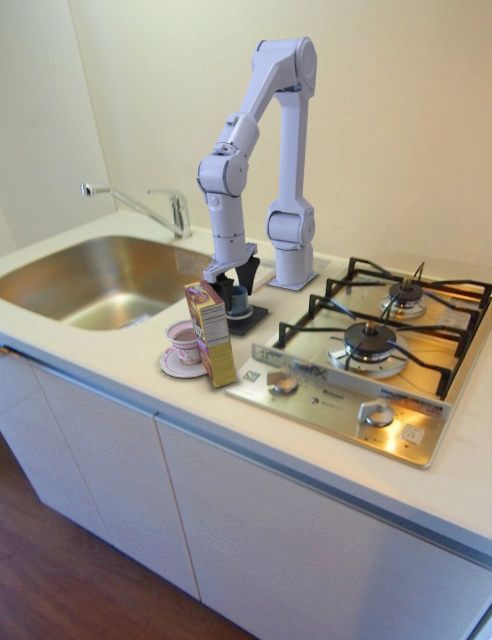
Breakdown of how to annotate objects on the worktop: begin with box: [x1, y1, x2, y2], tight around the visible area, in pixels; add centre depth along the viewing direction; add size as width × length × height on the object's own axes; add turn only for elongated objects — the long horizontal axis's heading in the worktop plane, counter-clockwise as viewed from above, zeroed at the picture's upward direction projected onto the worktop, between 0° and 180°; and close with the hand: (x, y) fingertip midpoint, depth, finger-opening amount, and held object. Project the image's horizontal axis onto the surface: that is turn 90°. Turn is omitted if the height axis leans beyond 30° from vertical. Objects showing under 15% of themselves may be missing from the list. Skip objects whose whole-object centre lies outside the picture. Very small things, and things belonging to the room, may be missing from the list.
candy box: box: [183, 279, 238, 389], centre depth 70 cm, size 9×4×15 cm, turn 23°
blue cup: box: [227, 284, 250, 314], centre depth 83 cm, size 5×5×4 cm
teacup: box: [159, 318, 208, 379], centre depth 77 cm, size 12×12×6 cm
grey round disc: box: [226, 303, 253, 320], centre depth 85 cm, size 6×6×1 cm
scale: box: [227, 304, 269, 337], centre depth 88 cm, size 11×10×3 cm
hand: (236, 302), depth 84 cm, fingers open, 6 cm apart
